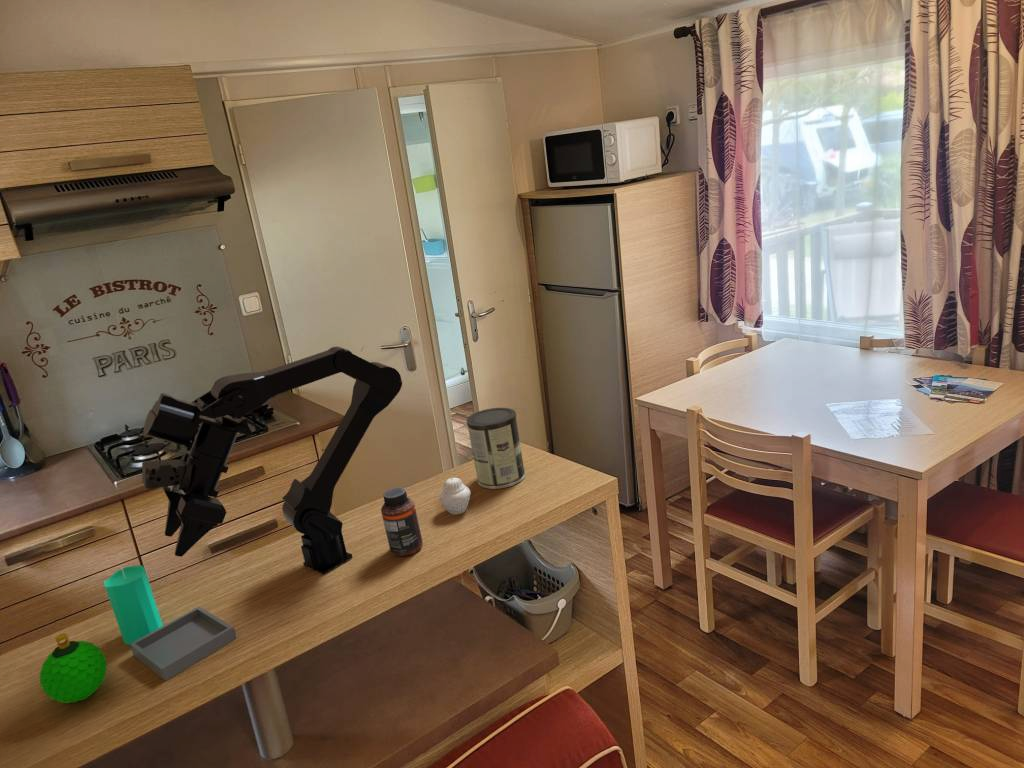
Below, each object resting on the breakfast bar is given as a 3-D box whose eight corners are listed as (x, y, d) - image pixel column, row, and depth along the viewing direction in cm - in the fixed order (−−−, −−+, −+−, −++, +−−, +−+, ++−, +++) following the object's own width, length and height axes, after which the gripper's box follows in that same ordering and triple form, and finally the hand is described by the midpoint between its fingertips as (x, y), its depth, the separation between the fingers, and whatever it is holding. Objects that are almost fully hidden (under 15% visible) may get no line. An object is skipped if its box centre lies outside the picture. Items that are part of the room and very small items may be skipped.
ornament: (106, 669, 111) (86, 611, 108) (120, 693, 105) (99, 632, 102) (46, 698, 107) (22, 639, 104) (56, 725, 100) (32, 663, 98)
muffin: (436, 513, 146) (429, 480, 144) (460, 500, 149) (454, 468, 147) (454, 521, 141) (448, 488, 139) (479, 508, 145) (474, 475, 143)
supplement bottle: (410, 537, 137) (398, 481, 134) (430, 546, 133) (418, 488, 130) (383, 552, 134) (371, 494, 130) (403, 561, 129) (390, 502, 126)
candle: (152, 617, 124) (131, 553, 120) (170, 627, 120) (148, 562, 116) (116, 637, 119) (93, 572, 116) (133, 649, 115) (110, 581, 112)
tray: (202, 616, 122) (199, 606, 121) (236, 638, 114) (233, 626, 114) (133, 655, 114) (129, 644, 113) (165, 681, 106) (161, 669, 106)
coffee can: (500, 465, 164) (490, 404, 160) (535, 473, 157) (526, 410, 153) (466, 483, 157) (455, 421, 153) (501, 493, 150) (491, 428, 146)
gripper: (148, 426, 122) (112, 516, 121) (168, 453, 106) (126, 557, 106) (215, 444, 128) (181, 530, 127) (243, 473, 113) (204, 571, 112)
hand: (172, 545), depth 118 cm, fingers open, 9 cm apart
